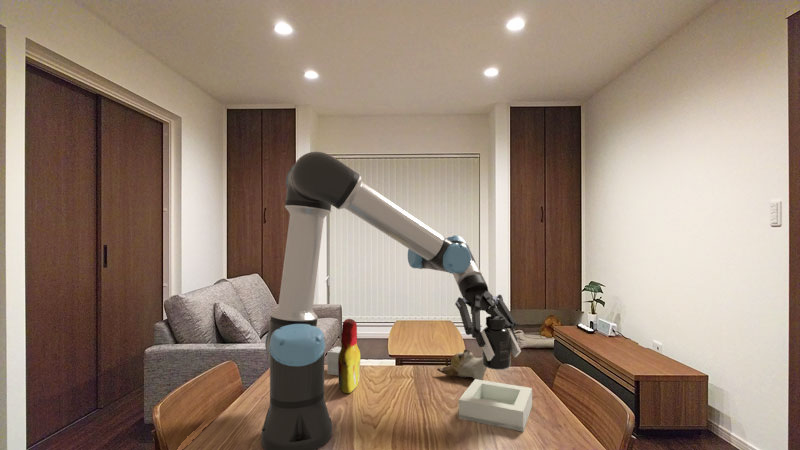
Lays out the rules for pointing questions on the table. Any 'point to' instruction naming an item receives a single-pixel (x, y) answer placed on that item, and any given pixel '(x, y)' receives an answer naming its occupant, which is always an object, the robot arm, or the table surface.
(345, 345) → the bottle
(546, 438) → the table surface
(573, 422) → the table surface
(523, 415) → the holder
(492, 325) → the supplement bottle
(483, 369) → the ceramic sculpture
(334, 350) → the skincare box
